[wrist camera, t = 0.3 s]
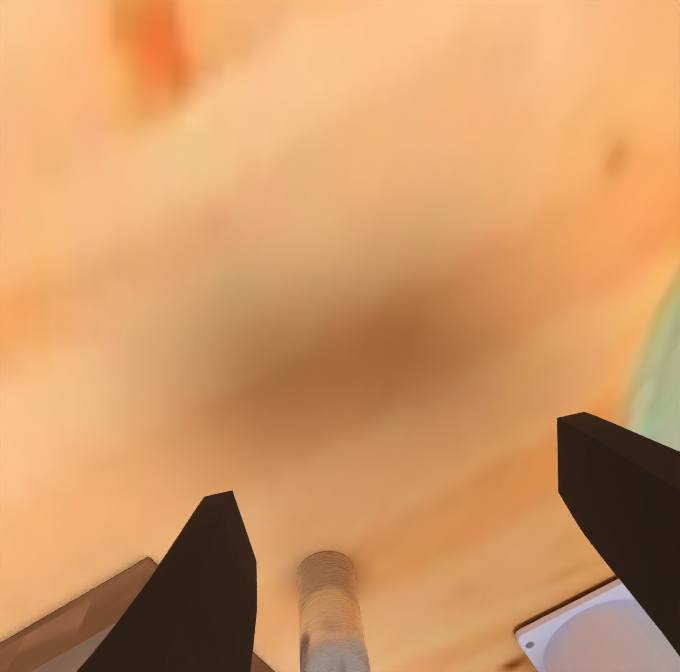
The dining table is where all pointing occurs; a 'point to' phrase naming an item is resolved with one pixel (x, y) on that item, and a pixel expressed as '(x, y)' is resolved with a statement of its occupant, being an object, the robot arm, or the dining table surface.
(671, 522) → the robot arm
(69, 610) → the hole block
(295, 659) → the dining table surface
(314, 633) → the pin
